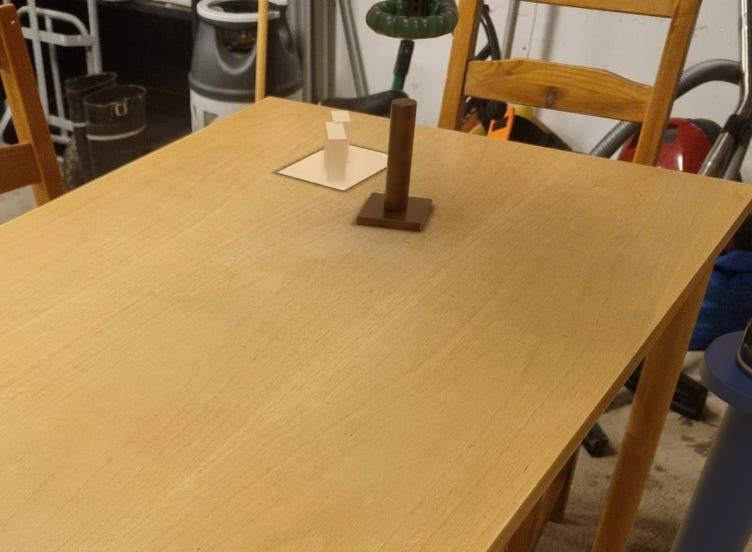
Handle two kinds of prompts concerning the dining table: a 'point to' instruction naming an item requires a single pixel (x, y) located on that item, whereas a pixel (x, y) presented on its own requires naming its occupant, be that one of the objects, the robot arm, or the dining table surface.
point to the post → (398, 177)
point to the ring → (412, 20)
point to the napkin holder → (338, 158)
